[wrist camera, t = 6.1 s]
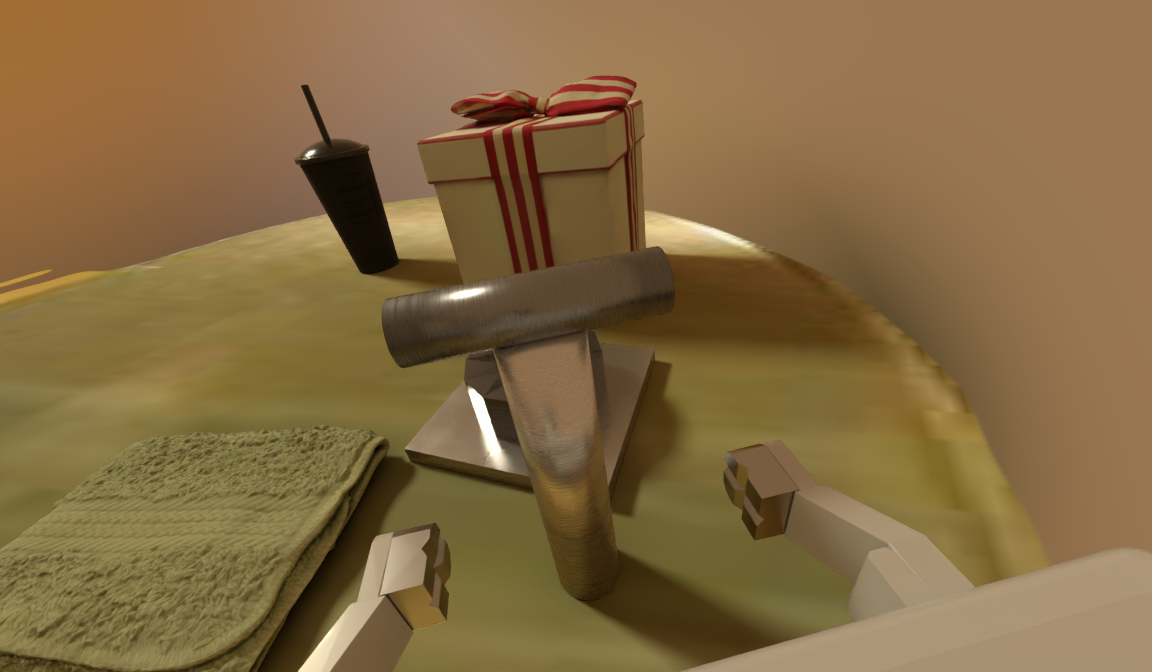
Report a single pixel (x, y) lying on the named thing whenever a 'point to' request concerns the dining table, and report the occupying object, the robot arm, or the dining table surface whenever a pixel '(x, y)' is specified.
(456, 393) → the chuck socket
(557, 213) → the gift box
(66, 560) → the washcloth
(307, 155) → the drinking cup
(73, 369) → the dining table surface
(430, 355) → the chuck key
